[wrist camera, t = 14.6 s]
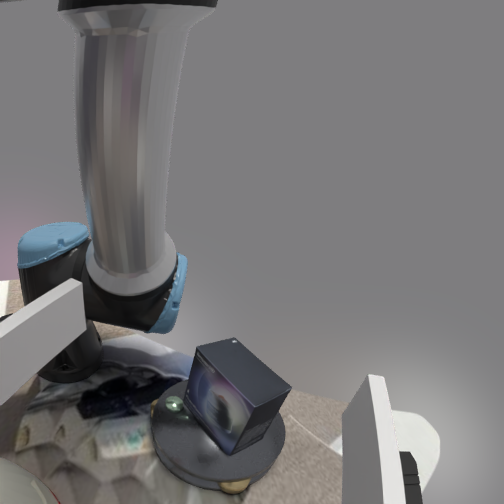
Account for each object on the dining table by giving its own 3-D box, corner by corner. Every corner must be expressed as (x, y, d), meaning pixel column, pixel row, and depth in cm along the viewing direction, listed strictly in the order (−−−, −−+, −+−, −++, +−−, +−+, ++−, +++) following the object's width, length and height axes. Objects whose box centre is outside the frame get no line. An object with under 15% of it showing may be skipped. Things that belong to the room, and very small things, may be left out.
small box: (178, 402, 34) (193, 344, 32) (215, 390, 39) (235, 335, 36) (227, 458, 28) (254, 406, 25) (264, 438, 32) (295, 385, 30)
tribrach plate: (125, 456, 28) (120, 438, 26) (174, 379, 45) (176, 357, 43) (265, 504, 26) (277, 491, 24) (283, 412, 43) (292, 392, 41)
